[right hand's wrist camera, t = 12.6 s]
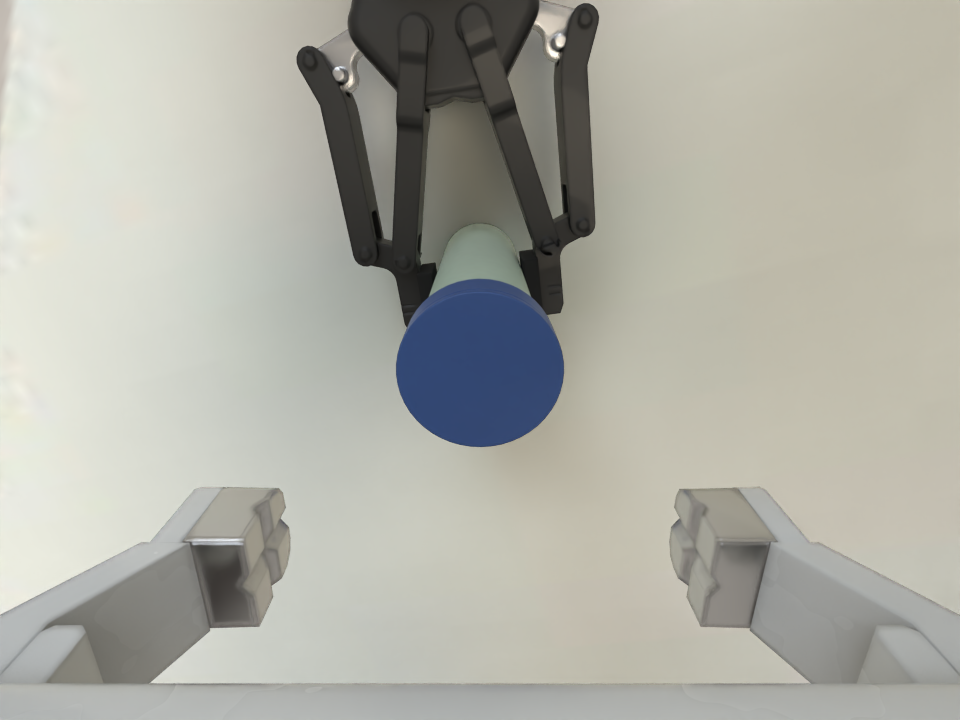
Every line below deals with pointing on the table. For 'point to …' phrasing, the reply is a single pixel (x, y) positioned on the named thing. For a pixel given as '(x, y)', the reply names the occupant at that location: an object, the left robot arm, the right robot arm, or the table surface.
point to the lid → (480, 363)
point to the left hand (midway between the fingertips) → (492, 375)
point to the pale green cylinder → (479, 258)
